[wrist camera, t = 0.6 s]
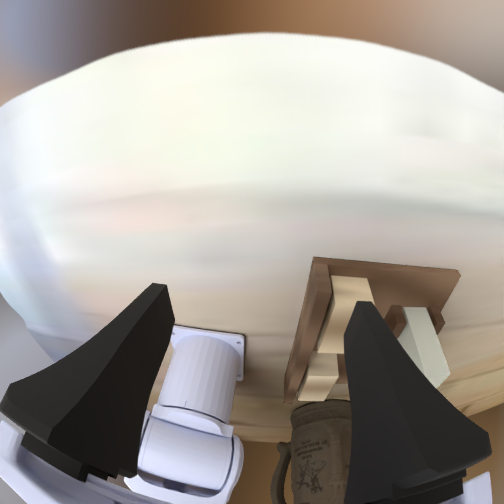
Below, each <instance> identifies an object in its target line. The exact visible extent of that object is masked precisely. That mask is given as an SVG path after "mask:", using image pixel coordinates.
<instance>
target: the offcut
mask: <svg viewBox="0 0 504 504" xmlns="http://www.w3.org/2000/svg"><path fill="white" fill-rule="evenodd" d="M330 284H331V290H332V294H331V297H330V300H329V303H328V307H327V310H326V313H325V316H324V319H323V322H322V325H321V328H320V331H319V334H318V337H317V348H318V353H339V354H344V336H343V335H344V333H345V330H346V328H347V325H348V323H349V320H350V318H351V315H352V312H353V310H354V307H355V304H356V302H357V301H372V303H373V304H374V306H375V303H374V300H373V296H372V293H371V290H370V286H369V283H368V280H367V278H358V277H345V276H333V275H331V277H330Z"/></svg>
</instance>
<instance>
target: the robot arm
mask: <svg viewBox="0 0 504 504" xmlns="http://www.w3.org/2000/svg"><path fill="white" fill-rule="evenodd" d="M174 323H175V318H174V314H173V310H172V306H171V301H170V297H169V293H168V288H167V285H165V284H157V283H152V284H151V285H150V286H149V287H148V288H146V289H145V290H144V291H143V292H142V293H141V294H140V295H139V296H138V297H137V298H136V299H135V300H134V301H133V302H132V303H131V304H130V305H129V306H127V307H126V308H125V309H124V310H123V311H122V312H121V313H120V314H119V315H118V316H117V317H116V318H115V319H113V320H112V321H111V322H110V323H109V324H108V325H107V326H105V327H104V328H103V329H102V330H101V331H100V332H99V333H97V334H96V335H95V336H94V337H92V338H91V339H90V340H89V341H87V342H86V343H85V344H83V345H82V346H80V347H79V348H78V349H76V350H75V351H73V352H72V353H70V354H69V355H67V356H66V357H64V358H62V359H61V360H59V361H58V362H56V363H54V364H53V365H51V366H49V367H47V368H45V369H44V370H41V371H40V372H37V373H35V374H33V375H31V376H29V377H26V378H24V379H21V380H19V381H17V382H14V383H11V384H10V386H9V387H8V389H7V391H6V393H5V395H4V397H3V399H2V401H1V403H0V412H2V413H3V414H4V415H5V416H6V417H8V418H9V419H10V420H12V421H13V422H14V423H16V424H17V425H18V426H20V427H21V428H23V429H24V430H25V431H26V432H25V435H23V434H22V433H20V432H19V431H17V430H16V429H15V428H13V427H12V426H11V425H9V424H8V423H6V422H5V421H4V420H2V421H1V423H0V477H1V478H2V479H3V480H4V481H5V482H6V483H7V484H8V485H9V486H10V487H11V488H12V489H13V490H14V491H15V492H16V493H17V494H18V495H19V496H20V497H21V498H22V499H23V500H24V501H25V502H26V503H28V504H121V503H122V504H226V503H227V502H228V501H229V499H230V495H231V493H232V490H233V488H234V486H235V485H236V483H237V481H238V479H239V477H240V474H241V470H242V465H243V458H244V450H243V444H242V443H241V441H240V439H239V437H238V436H236V435H232V434H233V428H234V427H233V426H230V425H229V422H230V416H231V410H232V404H233V398H234V392H235V386H236V381H243V372H244V336H243V335H240V334H232V333H224V332H216V331H209V330H201V329H195V328H188V327H182V326H176V325H174ZM343 336H344V359H345V366H346V373H347V380H348V387H349V394H350V402H351V412H352V438H351V455H350V465H349V474H348V481H347V487H346V492H345V497H344V504H492V492H491V482H490V473H489V472H486V473H484V474H482V475H479V476H477V477H475V478H473V479H471V480H468V481H466V482H464V483H463V481H462V478H463V477H466V468H468V467H471V466H473V465H474V464H476V463H478V462H480V461H482V460H484V459H486V458H487V457H489V456H490V455H491V453H492V450H491V444H490V439H489V435H488V432H486V431H485V430H483V429H482V428H481V427H479V426H478V425H476V424H475V423H474V422H472V421H471V420H470V419H468V418H467V417H466V416H465V415H464V414H462V413H461V412H460V411H459V410H458V409H457V408H455V407H454V406H453V405H452V404H451V403H450V402H449V401H448V400H447V399H446V398H445V397H444V396H443V395H442V394H441V393H440V392H439V391H438V390H437V389H436V388H435V387H434V386H433V385H432V383H431V382H430V381H429V380H428V379H427V378H426V377H425V375H424V374H423V373H422V372H421V371H420V369H419V368H418V367H417V366H416V364H415V363H414V362H413V360H412V359H411V358H410V356H409V355H408V354H407V352H406V351H405V350H404V348H403V347H402V345H401V344H400V342H399V341H398V340H397V338H396V337H395V335H394V334H393V332H392V331H391V329H390V328H389V326H388V325H387V323H386V322H385V320H384V319H383V317H382V316H381V314H380V313H379V311H378V310H377V308H376V307H375V306H374V304H373V303H372V301H357V302H356V304H355V307H354V310H353V312H352V315H351V318H350V320H349V323H348V325H347V328H346V330H345V333H344V335H343ZM170 339H171V342H172V345H173V348H174V353H173V356H172V359H171V362H170V365H169V368H168V371H167V374H166V377H165V380H164V383H163V386H162V389H161V392H160V395H159V399H158V402H157V405H156V404H155V405H154V407H153V410H152V414H151V412H150V411H147V410H146V409H147V404H148V400H149V396H150V393H151V390H152V387H153V384H154V381H155V379H156V376H157V374H158V371H159V368H160V366H161V363H162V361H163V358H164V356H165V353H166V350H167V348H168V345H169V342H170ZM118 474H119V475H121V476H124V481H125V483H126V484H127V486H128V487H129V488H130V489H131V490H132V491H130V490H128V489H125V488H122V487H120V486H117V485H115V484H112V483H110V482H108V481H107V478H108V476H110V477H112V478H115V479H116V478H117V475H118Z"/></svg>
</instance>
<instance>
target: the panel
mask: <svg viewBox="0 0 504 504" xmlns="http://www.w3.org/2000/svg"><path fill="white" fill-rule="evenodd" d="M402 311H403V313H404V316H405V319H406V322H407V325H406V326H405V328H404V330H403V331H402V333H401V334H400V336H399V338H397V340H398V341H399V342H400V344H401V345H402V347H403V348H404V350H405V351H406V352H407V354H408V355H409V356H410V358H411V359H412V360H413V362H414V363H415V364H416V366H417V367H418V368H419V369H420V371H421V372H422V373H423V374H424V375H425V377H426V378H427V379H428V380H429V381H430V382H431V383H432V385H433V386H434V387H435V388H437V387H438V386H439V385H440V384H441V383H442V382H443V381H444V380H445V379H446V378H447V377H448V376H449V375H450V372H449V368H448V365H447V362H446V359H445V356H444V353H443V350H442V348H441V345H440V342H439V339H438V337H437V334H436V331H435V329H434V326H433V324H432V321H431V319H430V316H429V314H428V311H427V309H426V308H425V307H403V309H402Z"/></svg>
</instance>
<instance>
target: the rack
mask: <svg viewBox="0 0 504 504" xmlns="http://www.w3.org/2000/svg"><path fill="white" fill-rule="evenodd" d="M331 275H333V276H345V277H358V278H367V280H368V283H369V286H370V290H371V293H372V296H373V300H374V303H375V307H376V308H377V310H378V311H379V313H380V314H381V316H382V317H383V319H384V320H385V322H386V323H387V325H388V326H389V328H390V329H391V331H392V332H393V334H394V335H395V337H396V338H399V336H400V334H401V333H402V331H403V330H404V328H405V326H406V325H407V322H406V319H405V316H404V313H403V311H402V309H403V307H425V308H426V309H427V311H428V314H429V316H430V319H431V321H432V324H433V326H434V329H435V331H436V334H437V335H438V333H439V332H440V330H441V329H442V327H443V326H444V324H445V321H444V319H443V317H442V315H441V310H442V308H443V307H444V305H445V303H446V302H447V300H448V298H449V297H450V295H451V293H452V291H453V289H454V288H455V286H456V284H457V282H458V280H459V278H460V276H461V275H460V274H459V272H458V270H450V269H440V268H429V267H418V266H407V265H397V264H386V263H375V262H364V261H353V260H342V259H332V258H321V257H313V261H312V266H311V271H310V275H309V280H308V285H307V289H306V294H305V298H304V302H303V307H302V311H301V315H300V319H299V324H298V328H297V332H296V336H295V340H294V343H293V347H292V351H291V355H290V359H289V362H288V366H287V370H286V373H285V382H284V401H283V403H289V404H292V403H293V400H294V398H295V395H296V393H297V390H298V388H299V385H300V383H301V380H302V378H303V375H304V373H305V370H306V367H307V365H308V362H309V359H310V357H311V354H312V351H318V348H317V337H318V334H319V331H320V328H321V325H322V322H323V319H324V316H325V313H326V310H327V307H328V303H329V300H330V297H331V294H332V290H331V284H330V277H331ZM337 362H338V373H339V377H338V379H337V380H336V382H335V383H348V380H347V373H346V366H345V359H344V354H339V353H337Z"/></svg>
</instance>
